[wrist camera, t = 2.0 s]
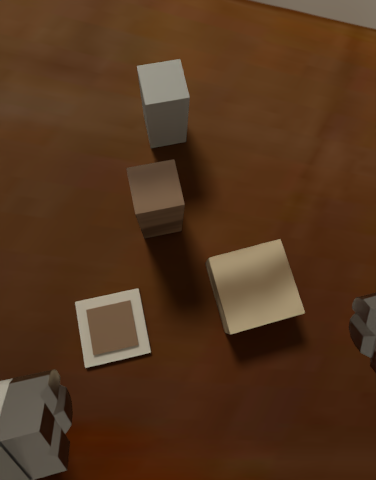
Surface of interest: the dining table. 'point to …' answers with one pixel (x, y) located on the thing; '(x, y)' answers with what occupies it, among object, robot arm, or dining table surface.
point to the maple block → (253, 287)
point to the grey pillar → (164, 102)
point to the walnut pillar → (157, 198)
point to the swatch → (112, 327)
